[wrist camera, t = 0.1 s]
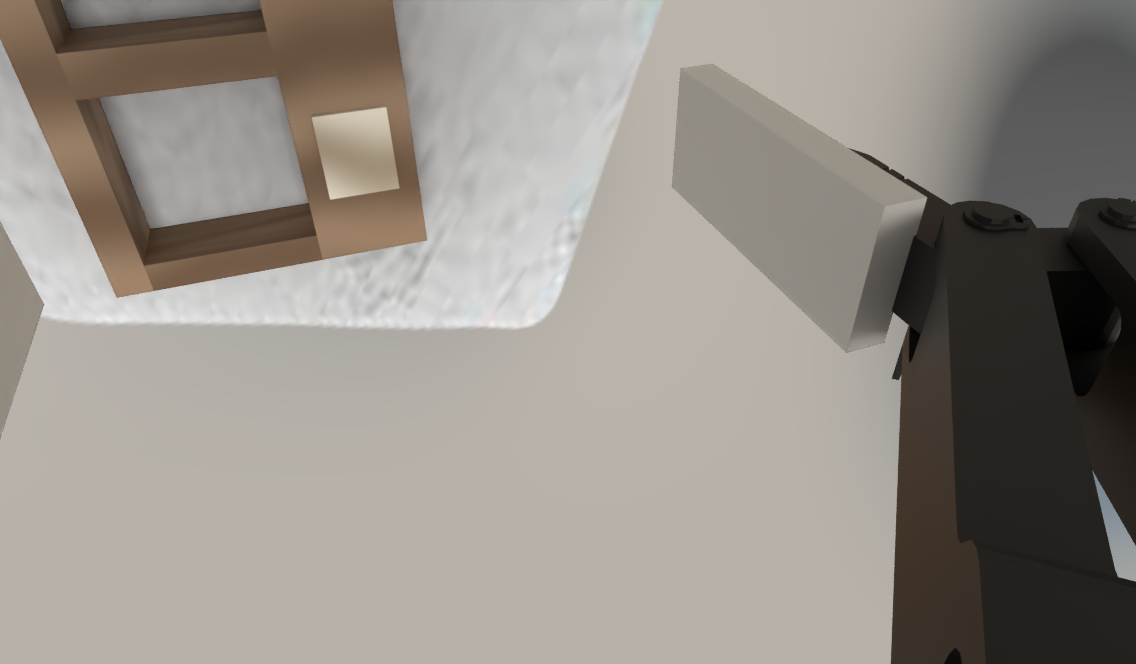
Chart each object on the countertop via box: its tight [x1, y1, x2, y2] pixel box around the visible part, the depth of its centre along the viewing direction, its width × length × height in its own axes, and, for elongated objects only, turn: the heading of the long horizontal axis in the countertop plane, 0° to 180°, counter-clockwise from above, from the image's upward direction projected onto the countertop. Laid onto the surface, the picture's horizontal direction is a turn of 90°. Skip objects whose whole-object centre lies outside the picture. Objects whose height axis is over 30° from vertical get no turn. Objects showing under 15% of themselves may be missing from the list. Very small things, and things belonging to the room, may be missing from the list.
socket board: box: [0, 0, 427, 298], centre depth 36 cm, size 22×16×4 cm
